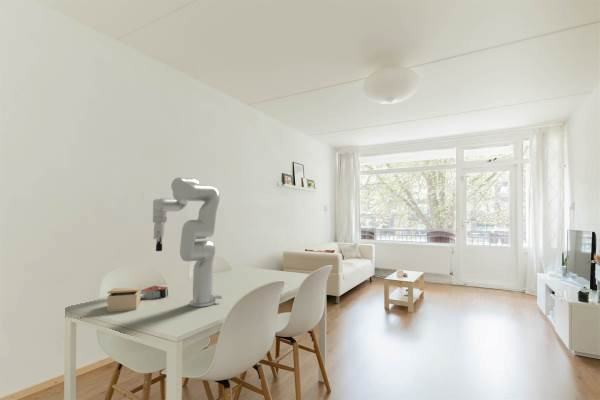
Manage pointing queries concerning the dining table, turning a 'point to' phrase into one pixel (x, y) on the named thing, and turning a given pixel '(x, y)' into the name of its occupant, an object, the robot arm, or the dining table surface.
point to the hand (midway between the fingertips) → (159, 250)
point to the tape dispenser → (154, 292)
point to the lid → (124, 290)
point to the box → (123, 301)
